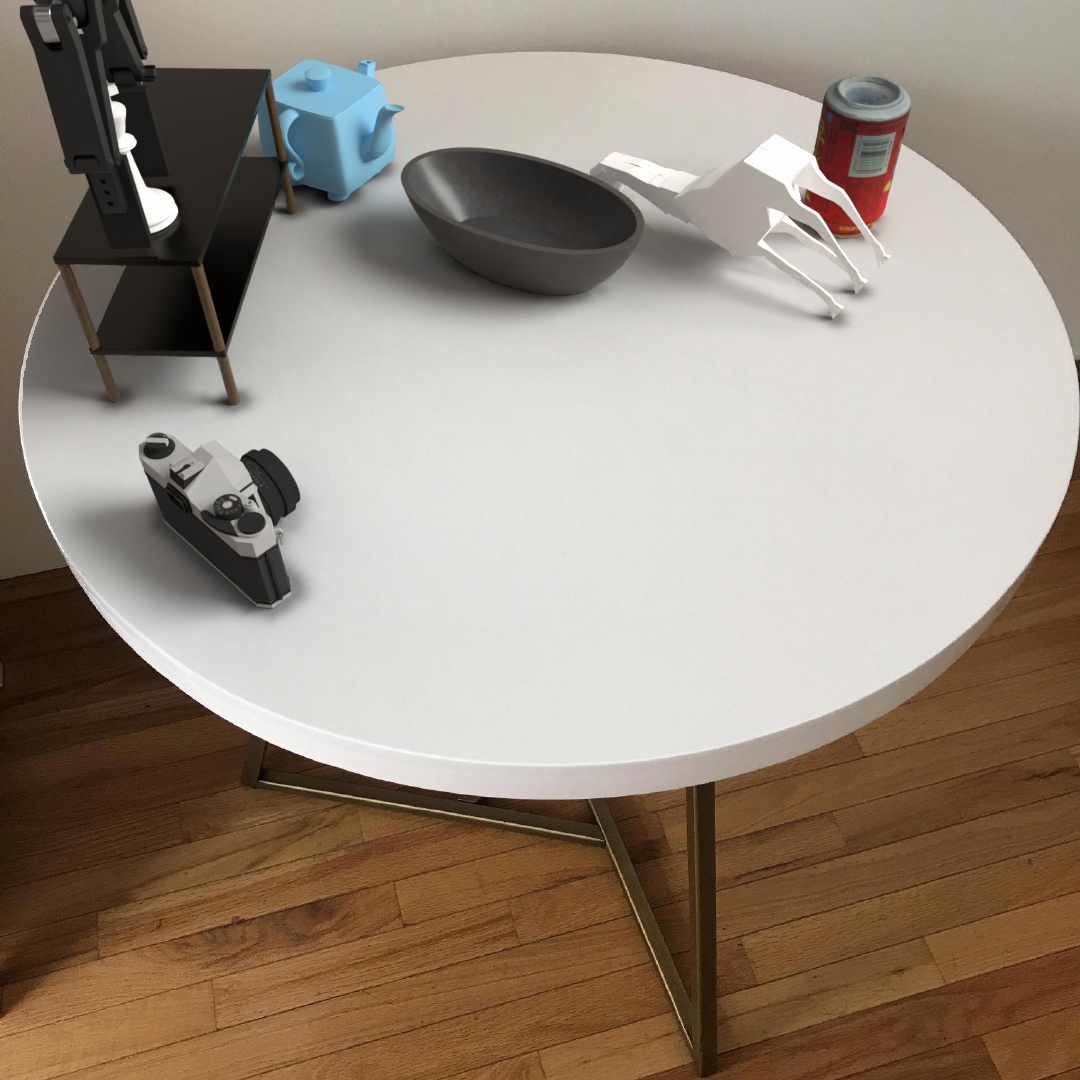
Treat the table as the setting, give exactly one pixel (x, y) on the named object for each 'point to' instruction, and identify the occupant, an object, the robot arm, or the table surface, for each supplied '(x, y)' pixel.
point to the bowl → (523, 218)
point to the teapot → (331, 126)
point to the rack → (188, 226)
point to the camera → (226, 509)
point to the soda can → (859, 148)
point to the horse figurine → (747, 203)
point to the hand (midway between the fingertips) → (141, 208)
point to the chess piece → (153, 200)
